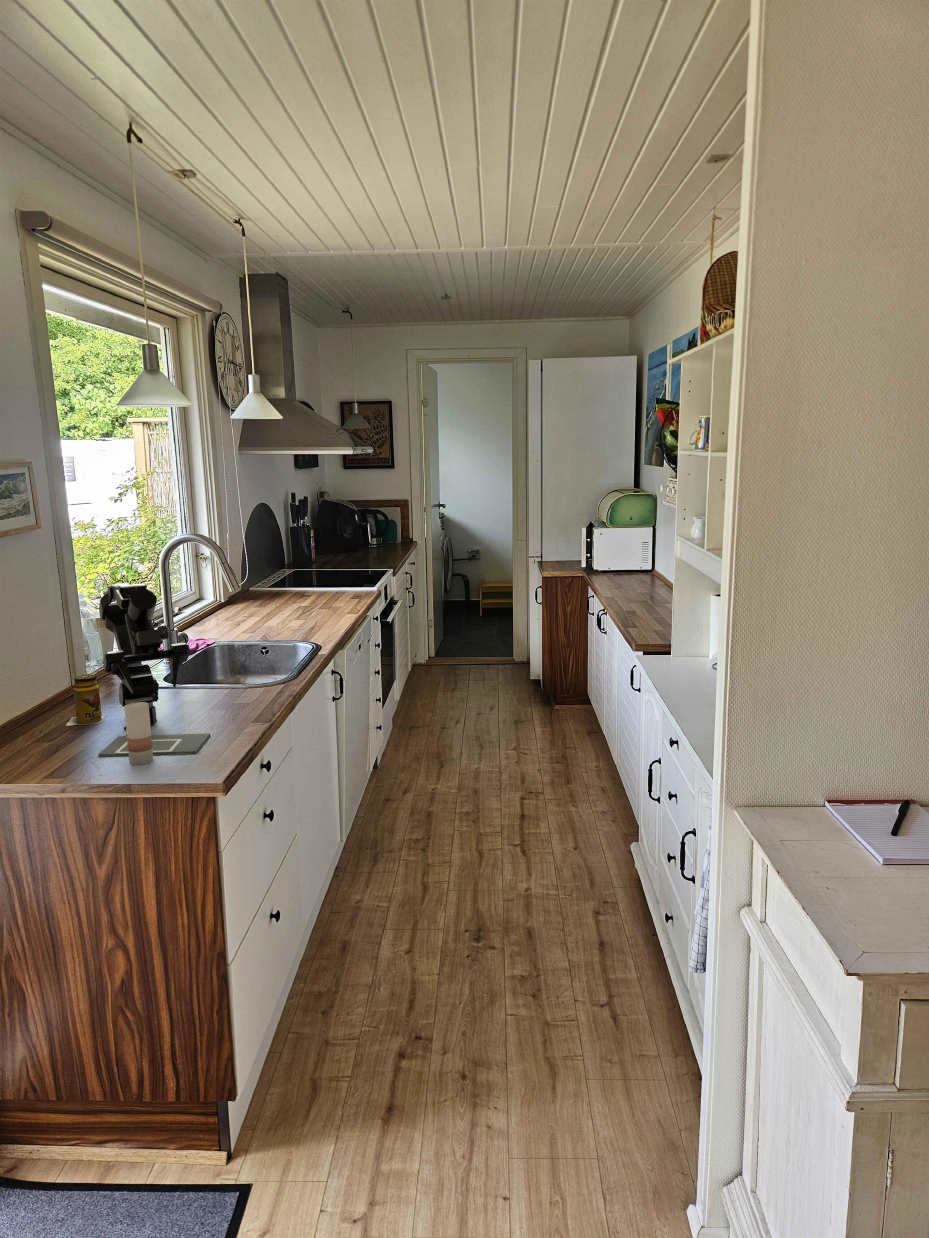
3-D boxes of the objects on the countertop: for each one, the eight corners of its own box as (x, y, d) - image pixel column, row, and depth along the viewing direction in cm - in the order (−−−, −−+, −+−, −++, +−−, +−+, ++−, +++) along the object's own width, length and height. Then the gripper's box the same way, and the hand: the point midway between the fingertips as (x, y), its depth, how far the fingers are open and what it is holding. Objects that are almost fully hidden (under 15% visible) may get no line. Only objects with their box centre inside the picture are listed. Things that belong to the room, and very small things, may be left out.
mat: (98, 756, 190) (97, 753, 190) (118, 738, 203) (118, 735, 203) (196, 753, 191) (195, 750, 191) (210, 735, 204) (210, 732, 204)
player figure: (125, 765, 184) (120, 708, 182) (133, 757, 189) (128, 702, 187) (149, 764, 184) (144, 708, 182) (156, 757, 189) (151, 701, 187)
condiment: (100, 723, 215) (96, 678, 213) (65, 726, 214) (60, 681, 211) (105, 715, 222) (101, 672, 220) (71, 718, 221) (67, 674, 218)
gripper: (101, 618, 188) (114, 680, 182) (186, 610, 197) (201, 668, 192) (98, 641, 196) (110, 701, 190) (179, 632, 206) (193, 689, 200)
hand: (154, 689), depth 193 cm, fingers open, 9 cm apart
